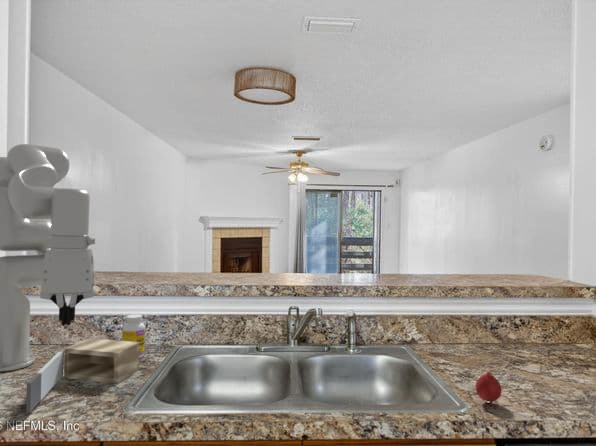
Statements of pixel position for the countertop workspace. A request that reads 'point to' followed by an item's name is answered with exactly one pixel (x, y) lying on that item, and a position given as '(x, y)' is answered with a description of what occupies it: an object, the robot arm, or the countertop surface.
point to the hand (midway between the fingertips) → (66, 323)
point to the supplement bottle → (134, 331)
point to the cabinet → (101, 360)
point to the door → (44, 381)
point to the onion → (488, 387)
